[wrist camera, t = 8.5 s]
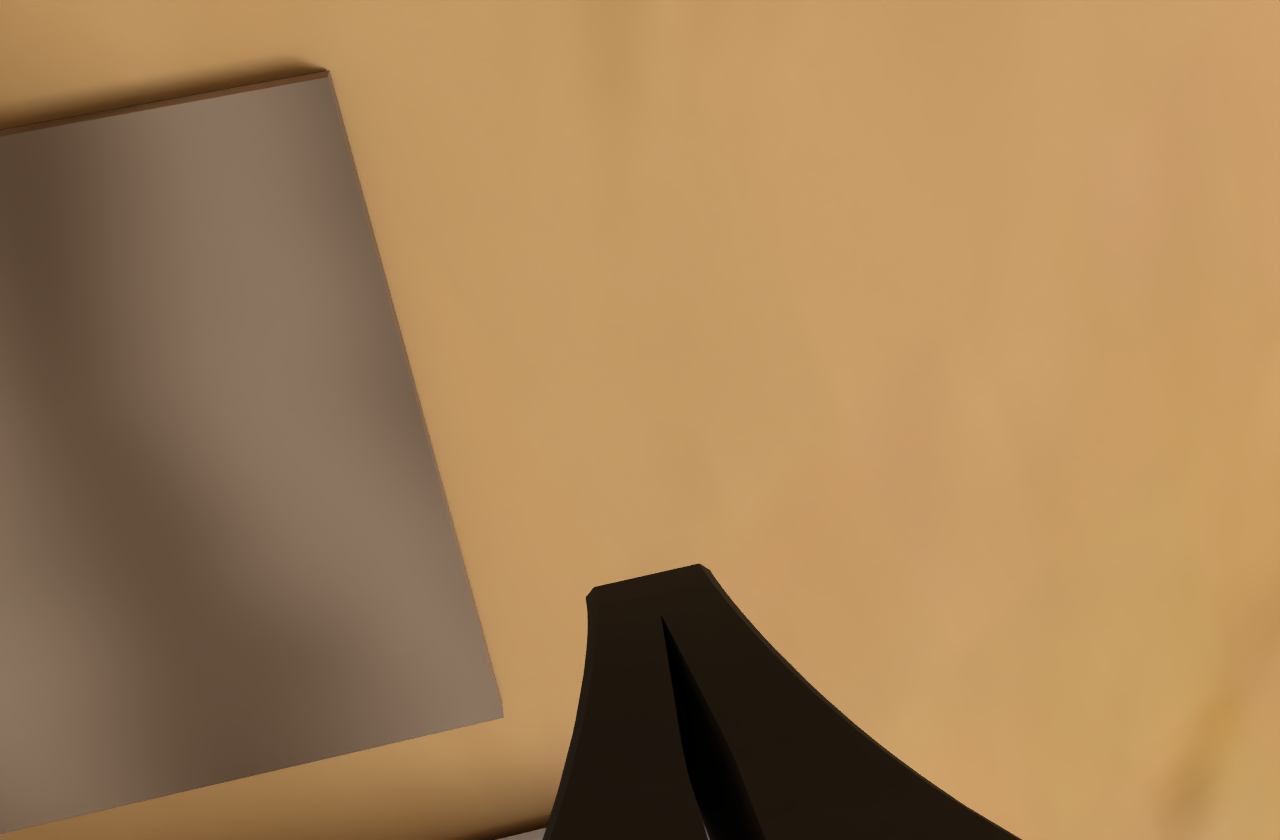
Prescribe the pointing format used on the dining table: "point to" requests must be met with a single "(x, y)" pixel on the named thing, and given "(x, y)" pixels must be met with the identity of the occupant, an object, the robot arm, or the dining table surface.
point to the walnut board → (211, 462)
